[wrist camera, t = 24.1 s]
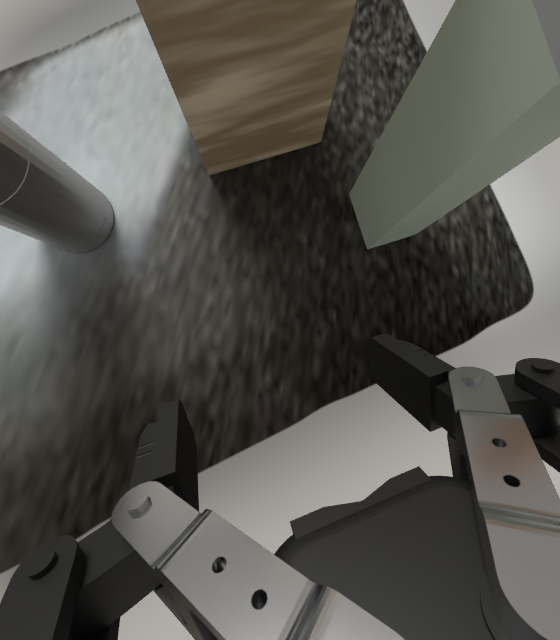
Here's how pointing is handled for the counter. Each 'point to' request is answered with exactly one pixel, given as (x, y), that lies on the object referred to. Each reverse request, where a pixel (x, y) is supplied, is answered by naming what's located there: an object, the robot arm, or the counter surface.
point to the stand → (250, 71)
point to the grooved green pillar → (464, 116)
